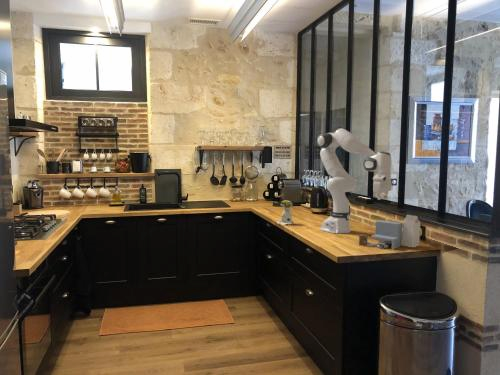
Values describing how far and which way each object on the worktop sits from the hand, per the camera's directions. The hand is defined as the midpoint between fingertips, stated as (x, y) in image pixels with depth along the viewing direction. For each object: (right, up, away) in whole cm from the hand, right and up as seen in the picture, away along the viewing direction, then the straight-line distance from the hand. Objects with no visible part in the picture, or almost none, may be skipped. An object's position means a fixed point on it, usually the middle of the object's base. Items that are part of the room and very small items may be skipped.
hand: (382, 199), depth 257 cm
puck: (-7, -29, -17) cm, 34 cm away
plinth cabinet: (-1, -28, -11) cm, 30 cm away
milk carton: (+13, -29, -12) cm, 34 cm away
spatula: (-9, -28, -12) cm, 32 cm away
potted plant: (-57, -21, +58) cm, 84 cm away
